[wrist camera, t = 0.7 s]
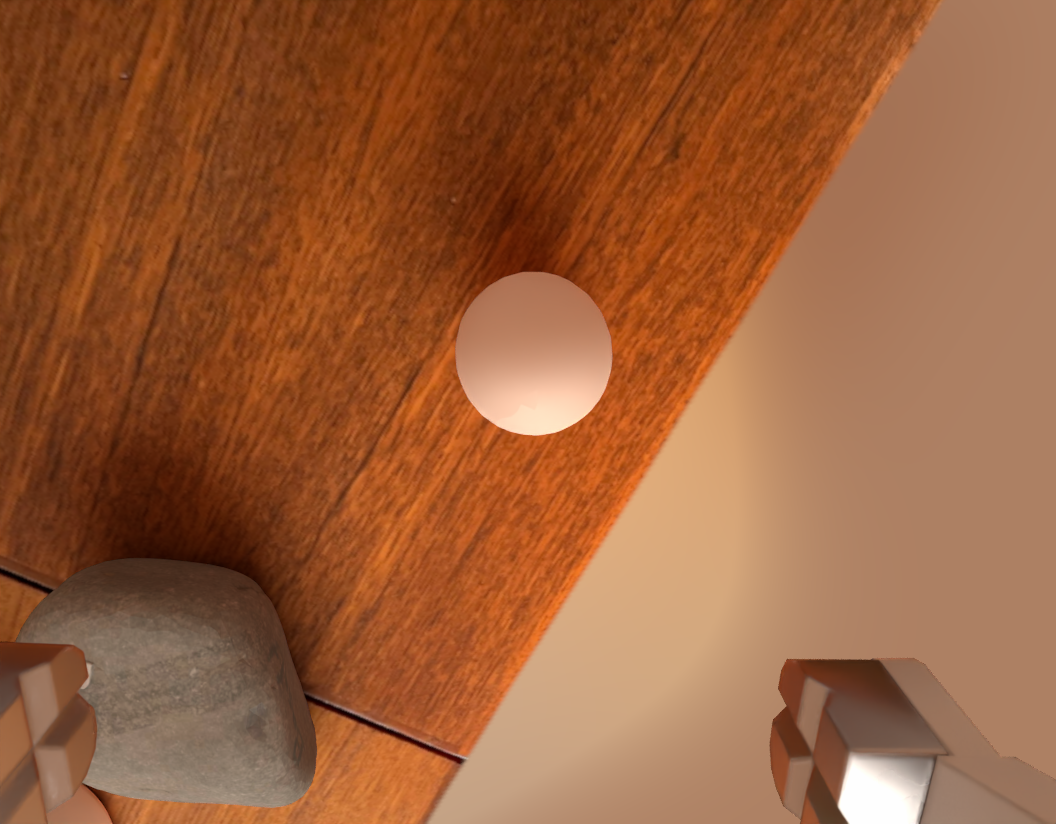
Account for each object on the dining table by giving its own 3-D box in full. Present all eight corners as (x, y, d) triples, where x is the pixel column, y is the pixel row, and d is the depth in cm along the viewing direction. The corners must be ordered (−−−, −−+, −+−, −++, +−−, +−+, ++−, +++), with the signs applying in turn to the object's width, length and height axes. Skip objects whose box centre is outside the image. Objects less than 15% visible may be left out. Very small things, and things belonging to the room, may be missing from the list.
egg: (624, 345, 27) (664, 412, 20) (512, 417, 27) (513, 506, 20) (549, 231, 25) (564, 259, 18) (435, 309, 26) (407, 365, 19)
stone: (117, 774, 32) (-56, 880, 22) (136, 554, 33) (-18, 561, 23) (337, 773, 32) (264, 877, 22) (346, 555, 34) (282, 562, 24)
